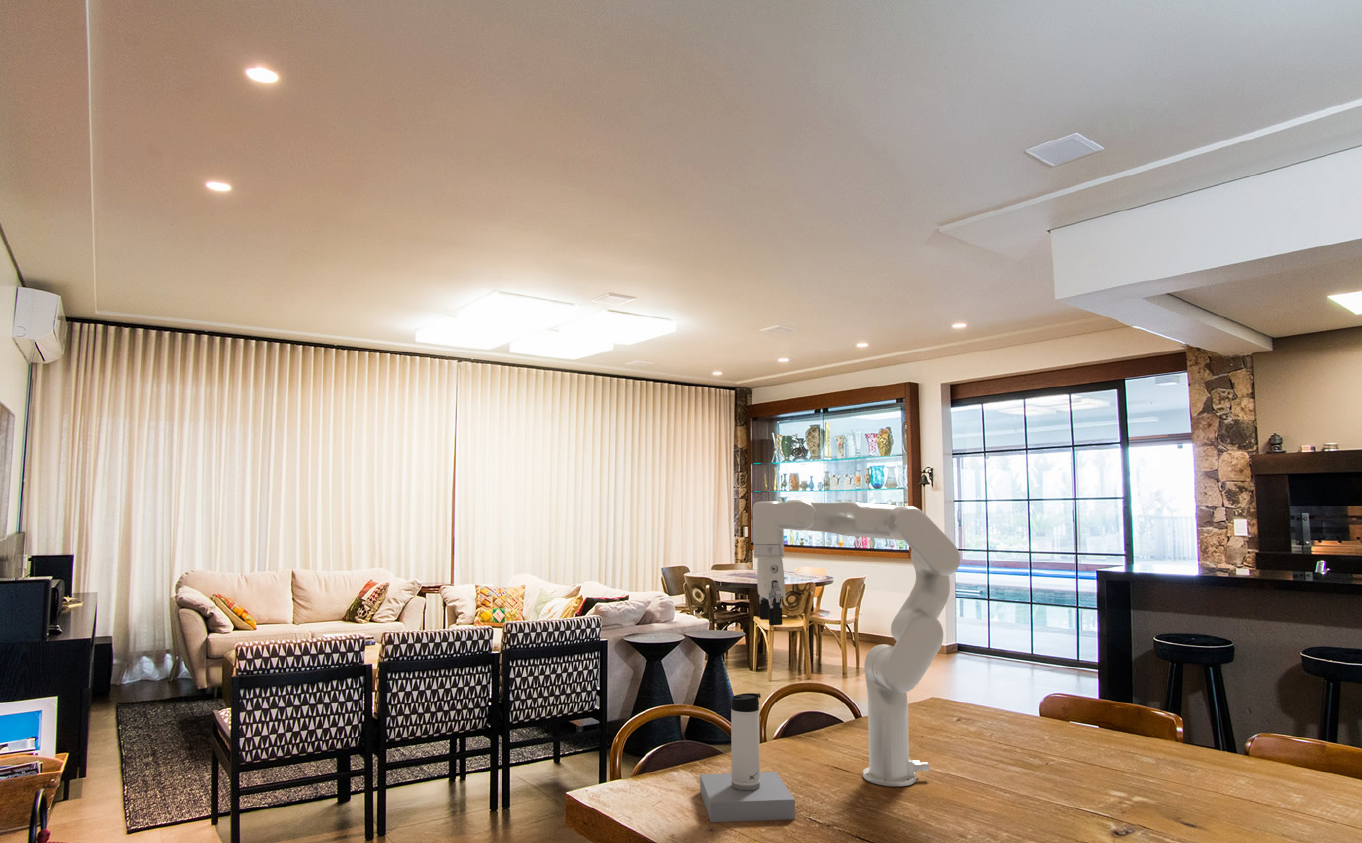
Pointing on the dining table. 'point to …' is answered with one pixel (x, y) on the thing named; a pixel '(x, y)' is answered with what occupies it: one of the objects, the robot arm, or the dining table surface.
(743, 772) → the travel mug
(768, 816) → the plinth
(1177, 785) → the dining table surface
